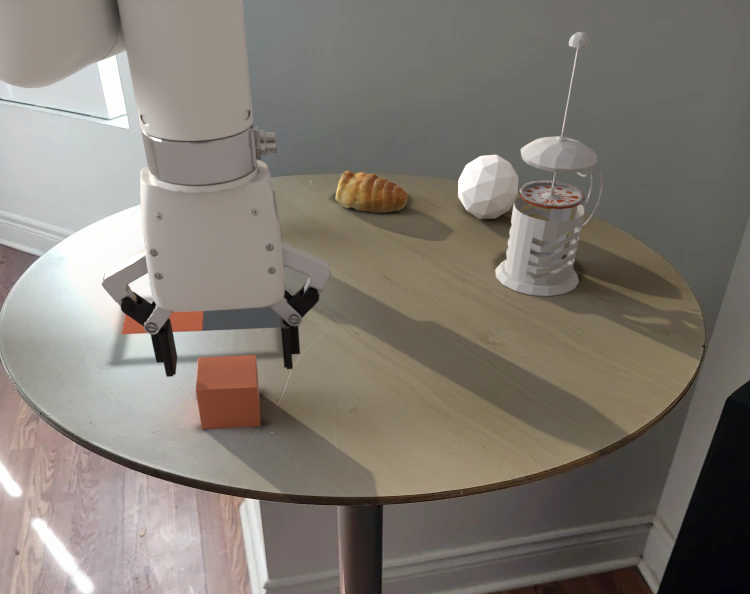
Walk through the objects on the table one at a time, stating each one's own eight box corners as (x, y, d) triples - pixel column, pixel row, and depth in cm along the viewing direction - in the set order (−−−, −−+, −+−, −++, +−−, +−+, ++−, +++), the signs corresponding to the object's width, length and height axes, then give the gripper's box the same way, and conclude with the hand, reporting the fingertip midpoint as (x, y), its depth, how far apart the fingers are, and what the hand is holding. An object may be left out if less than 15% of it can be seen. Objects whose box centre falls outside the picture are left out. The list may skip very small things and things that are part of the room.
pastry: (412, 200, 106) (414, 172, 104) (399, 220, 102) (400, 191, 99) (347, 191, 108) (347, 162, 106) (331, 209, 103) (331, 181, 101)
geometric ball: (468, 231, 106) (453, 171, 105) (526, 213, 104) (512, 152, 103) (462, 224, 99) (447, 160, 98) (525, 204, 97) (509, 138, 95)
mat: (116, 372, 74) (114, 365, 74) (129, 309, 83) (127, 303, 82) (284, 364, 76) (284, 357, 75) (279, 303, 85) (279, 297, 84)
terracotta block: (203, 438, 67) (195, 390, 64) (204, 404, 71) (197, 357, 67) (261, 434, 68) (257, 387, 64) (260, 401, 71) (255, 354, 68)
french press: (478, 267, 92) (508, 25, 75) (554, 248, 97) (599, 15, 80) (529, 303, 86) (574, 49, 69) (608, 281, 90) (669, 37, 73)
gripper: (322, 130, 57) (329, 335, 69) (80, 138, 55) (129, 346, 67) (331, 167, 52) (337, 382, 63) (63, 177, 50) (120, 396, 61)
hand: (230, 364), depth 65 cm, fingers open, 9 cm apart
